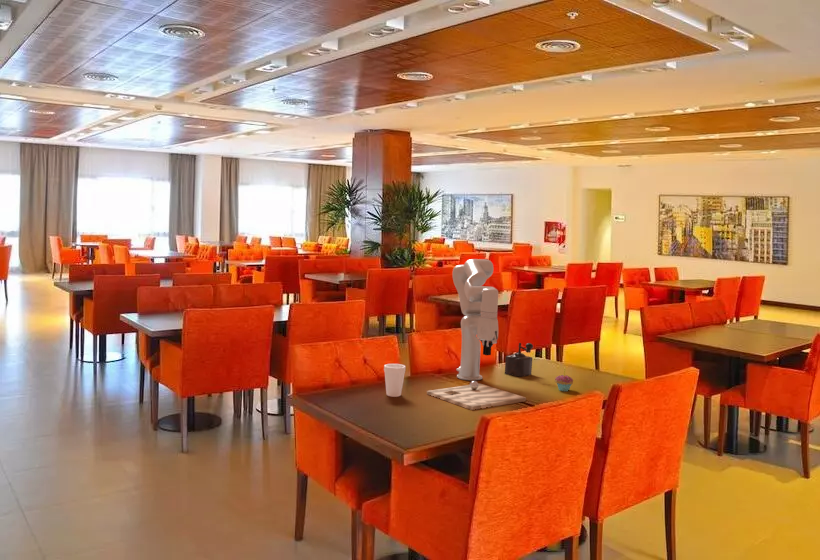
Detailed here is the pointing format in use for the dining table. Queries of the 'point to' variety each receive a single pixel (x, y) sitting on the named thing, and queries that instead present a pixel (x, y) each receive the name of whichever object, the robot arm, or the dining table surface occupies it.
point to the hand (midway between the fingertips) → (486, 354)
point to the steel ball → (474, 385)
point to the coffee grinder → (519, 362)
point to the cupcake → (564, 382)
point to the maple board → (476, 396)
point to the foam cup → (394, 379)
